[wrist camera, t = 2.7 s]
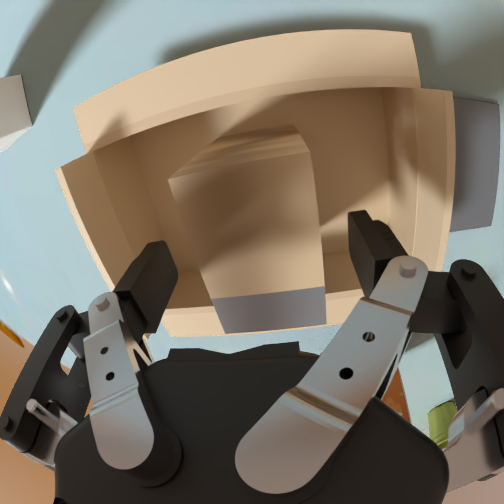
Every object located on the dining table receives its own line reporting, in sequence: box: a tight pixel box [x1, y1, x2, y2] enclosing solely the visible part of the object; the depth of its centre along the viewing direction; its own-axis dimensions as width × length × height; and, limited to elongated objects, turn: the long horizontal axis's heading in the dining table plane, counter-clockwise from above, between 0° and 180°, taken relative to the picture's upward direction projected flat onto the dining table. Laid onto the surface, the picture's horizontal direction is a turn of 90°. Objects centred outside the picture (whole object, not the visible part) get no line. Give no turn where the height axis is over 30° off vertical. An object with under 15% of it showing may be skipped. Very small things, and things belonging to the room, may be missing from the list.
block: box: [168, 124, 327, 334], centre depth 15 cm, size 5×8×9 cm, turn 12°
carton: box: [55, 29, 456, 340], centre depth 15 cm, size 19×18×8 cm
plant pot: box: [428, 401, 458, 449], centre depth 35 cm, size 9×9×9 cm
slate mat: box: [449, 98, 500, 232], centre depth 16 cm, size 9×11×1 cm
